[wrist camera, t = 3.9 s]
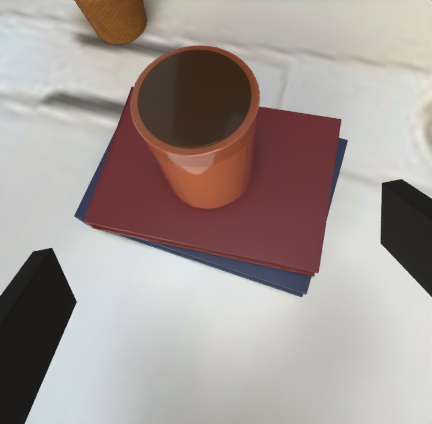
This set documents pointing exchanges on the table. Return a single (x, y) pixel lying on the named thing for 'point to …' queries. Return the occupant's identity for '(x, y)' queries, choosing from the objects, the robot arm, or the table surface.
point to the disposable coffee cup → (115, 18)
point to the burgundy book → (238, 209)
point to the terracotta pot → (199, 122)
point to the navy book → (251, 271)
